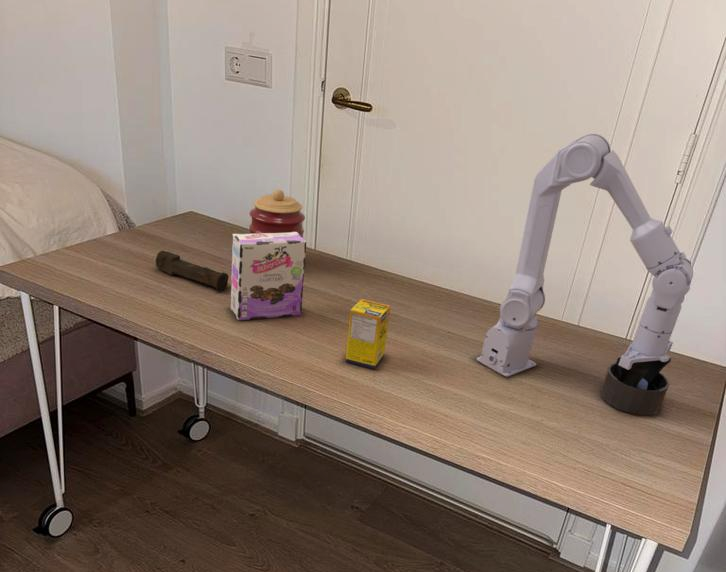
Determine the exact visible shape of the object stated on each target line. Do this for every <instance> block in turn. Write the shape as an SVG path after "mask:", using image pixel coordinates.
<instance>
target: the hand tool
mask: <svg viewBox="0 0 726 572" xmlns="http://www.w3.org/2000/svg"><path fill="white" fill-rule="evenodd" d="M155 267H156V269H158V270H160V271H161V272H164V273H166V274H168V275H170V276H181V277H183V278H186V279H190V280H193V281H195V282H198V283H201V284H203V285H206V286H207V287H208V286H209V287H211V288H215V289H216V291H217V292H218V293H220V292H222V291H224V290H225V289H226V288H227V287H228V284H229V274H228V273H227V272H220V271H216V270H214V269H211V268H209V267H206V266H201V265H198V264H195V263H192V262H189V261H186V260H184V259H181V256H180V255H178V254H176V253H173V252H170V251H165V250H160V251H159V252H157V255H156V257H155Z"/></svg>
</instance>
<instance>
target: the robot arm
mask: <svg viewBox="0 0 726 572" xmlns="http://www.w3.org/2000/svg"><path fill="white" fill-rule="evenodd" d="M591 178H592V179H593V180H592V181H591V182H590V183H589V185H590V186H591V187H594V188H598V189H601V190H604V191H606V192H607V193H608V194H609V196H610V198H611V199H612V200H613V202H614V203H615V205H616V206H617V208H618V209H619V211H620V212H621V214H622V215H623V217H624V218H625V220H626V222H627V223H628V225H629V226H630V228H631V229H632V232H631V235H630V239H629V242H630V243H631V244H632V245H631V246H632V247H633V248H634V250H635V252H636V253H637V255H638V257H639V258H640V260H641V262H642V263H643V265H644V267H645V268H646V271H647V272H648V273H649V274H651V275H652V276H653V277H652V279H651V280H652V281H651V286H652V289H651V293H650V295H649V296H648V298H647V299H646V302H645V306H644V307H643V310H642V313H641V317H640V320H639V322H638V325H637V329H636V331H635V334H634V337H633V339H632V342H631V343H630V344H629V346H628V348H627V349H626V352H625V353H624V354H621V356H619V357H617V359H616V361H615V362H616V364H617V367H618V372H619V381H621V382H623V383H625V384H627V385H630V386H633V387H637V385H638V384H639V382H640V381H641V379H642V378H643V379H645V380H646V381H647V382H648V386H647V389H648V388H649V386H650V385H651V383H652V382H653V380H654V379H655V377H656V376H657V375H658V373H659V372H660V373H661V371H662V370H663V369H664V368H665V367H666V366H667V365H669V364H670V363H671V361H672V357H671V356H670V355H669V354H667V353H669V352H671V349H672V346H673V344H674V341H671V340H670V339H671V337H672V334H673V332H674V329H675V327H676V324H677V321H678V318H679V316H680V313H681V310H682V304H683V303H684V301H685V296H686V295H687V294H688V293H689V291H690V290H691V283H692V281H693V278H694V268H693V266H692V261H691V260H690V259H688V258H687V255H686V253H685V252H684V251H682V252H681V251H680V250H679V247H678V246H677V244H676V242H675V241H674V239H673V237H672V236H671V235H672V234H673V229H672V227H671V225H667V226H665V223H664V222H663V221H662V220H660V219H659V220H658V219H655V218H652V217H651V216H650V214H649V212H648V210H647V208H646V206H645V204H644V203H643V201H642V199H641V197H640V195H639V193H638V191H637V189H636V187H635V185H634V183H633V182H632V180H631V177H630V176H629V174H628V171H627V170H626V167H625V166H624V164H623V163H622V161H621V158H620V157H619V155H618V154H617V153H616V151H615V150H614V149H612V150H611V146H610V142H609V141H608V140H607V139H606V137H604V136H602V134H597V133H589V134H586V135H583V136H581V137H579V138H578V139H576V140H574V141H572V142H570V143H569V144H567V145H566V146H564V147H562V148H560V149H558V150H557V152H556V153H555V155H554V156H553V157H552V158H551V159H550V160H549V161H548V162H547V163H546V164H545V165H544V166H543V167H541V169H540V170H539V171H538V172H537V173H536V175H535V177H534V180H533V185H532V191H531V196H530V200H529V204H528V209H527V215H526V220H525V225H524V231H523V235H522V242H521V245H520V251H519V255H518V260H517V264H516V265H517V266H516V271H515V274H514V276H513V279H512V281H511V283H510V285H509V287H508V292H507V295H506V297H505V298H504V300H502V302H501V304H500V307H499V315H500V316H499V319H498V321H497V323H496V324H495V325H494V326H492V327H490V328H489V329H488V330H487V331H486V333H485V336H484V339H483V345H482V349H481V354H480V356H477V357H476V361H477V362H479V363H481V364H482V365H484V366H486V367H487V368H489V369H491V370H493V371H495V372H496V373H498V374H500V375H502V376H503V377H505V378H506V377H507V378H508V377H510V376H513V375H516V374H519V373H521V372H524V371H527V370H529V369H531V368H534V367H536V366H537V362H535V361H533V360H531V359H530V355H531V351H532V347H533V343H534V340H535V336H536V332H537V329H538V325H539V321H538V318H537V313H538V312H539V311H541V309H542V308H543V307H544V306H545V304H546V294H545V291H544V286H545V285H544V283H545V275H544V273H545V269H546V268H545V267H546V264H547V260H548V259H547V258H548V256H549V255H548V254H549V251H550V246H551V241H552V240H551V239H552V236H553V232H554V228H555V223H556V218H557V213H558V209H559V204H560V201H561V197H562V196H561V195H562V191H563V190H564V189H566V188H567V187H569V186H571V185H572V184H575V183H580V182H583V181H588V180H589V179H591Z"/></svg>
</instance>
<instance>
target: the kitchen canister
mask: <svg viewBox="0 0 726 572" xmlns="http://www.w3.org/2000/svg"><path fill="white" fill-rule="evenodd" d="M253 206H254V207H253V208H252V209H250V210H249V216H250V218H251V222H250V223H249V226H248V228H249V234H259V233H290V232H297V233H298V234H299V235H300V236H301V237H302V238H304V233H305V229H304V227H303V222H304V221H305V219H306V216H305V214H304V213H303V212H302V211H301V210H302V209H303V205H302V204H301V203H300V202H299V201H297V199H295V197H292V196H289V195H285V193H284V191H283V190H282V189H279V188H278V189H277V188H276V189H275V190H273V192H272V194H264V195H261V196H260V197H259V198H257V199H255V200H254V201H253Z"/></svg>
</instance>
